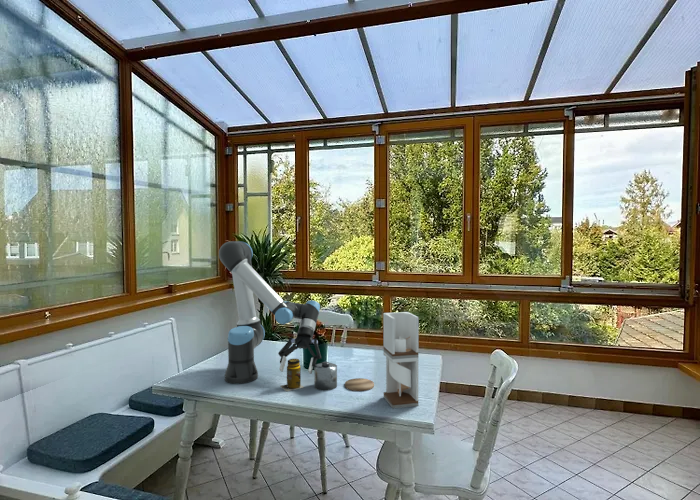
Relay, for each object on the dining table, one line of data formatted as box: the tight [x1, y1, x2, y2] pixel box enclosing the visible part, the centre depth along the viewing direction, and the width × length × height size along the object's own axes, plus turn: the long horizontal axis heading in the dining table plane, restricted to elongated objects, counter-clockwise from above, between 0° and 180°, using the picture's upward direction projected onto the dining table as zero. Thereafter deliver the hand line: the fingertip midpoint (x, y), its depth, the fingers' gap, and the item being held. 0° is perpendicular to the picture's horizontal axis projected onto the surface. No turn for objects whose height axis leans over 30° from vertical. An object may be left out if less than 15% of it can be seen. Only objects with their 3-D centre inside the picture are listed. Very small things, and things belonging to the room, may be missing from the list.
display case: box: [382, 311, 420, 409], centre depth 162 cm, size 11×11×35 cm
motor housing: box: [313, 361, 338, 392], centre depth 180 cm, size 10×10×10 cm
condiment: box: [279, 358, 305, 392], centre depth 179 cm, size 7×8×12 cm
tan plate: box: [344, 377, 375, 392], centre depth 180 cm, size 13×13×1 cm
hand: (295, 371), depth 180 cm, fingers open, 13 cm apart
